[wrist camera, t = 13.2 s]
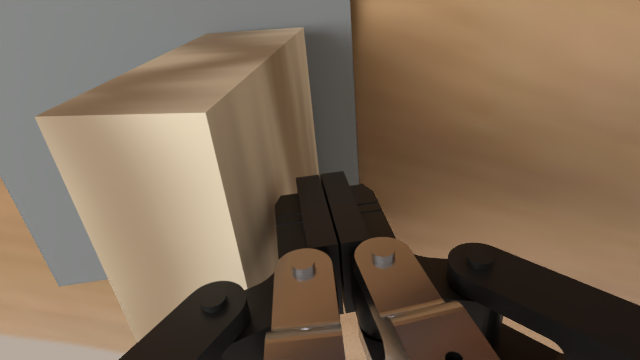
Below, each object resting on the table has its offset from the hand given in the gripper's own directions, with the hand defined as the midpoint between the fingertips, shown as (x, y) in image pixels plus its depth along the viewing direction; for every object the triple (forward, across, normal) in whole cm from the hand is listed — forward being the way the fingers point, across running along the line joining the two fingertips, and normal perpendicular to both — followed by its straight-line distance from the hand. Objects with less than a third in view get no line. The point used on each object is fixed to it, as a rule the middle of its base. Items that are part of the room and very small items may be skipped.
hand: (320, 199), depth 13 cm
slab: (+6, +1, 0) cm, 6 cm away
